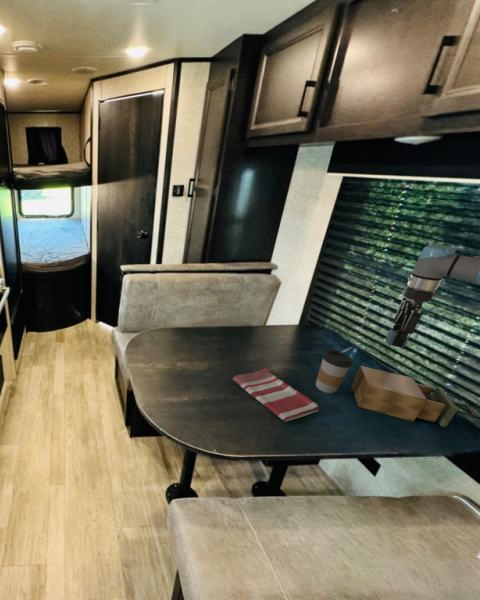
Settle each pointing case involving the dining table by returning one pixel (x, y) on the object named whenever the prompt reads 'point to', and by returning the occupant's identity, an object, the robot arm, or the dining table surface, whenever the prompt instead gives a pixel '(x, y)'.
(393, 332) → the block
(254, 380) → the dish towel
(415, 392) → the cabinet
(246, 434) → the dining table surface
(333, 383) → the coffee cup
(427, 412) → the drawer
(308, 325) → the dining table surface
